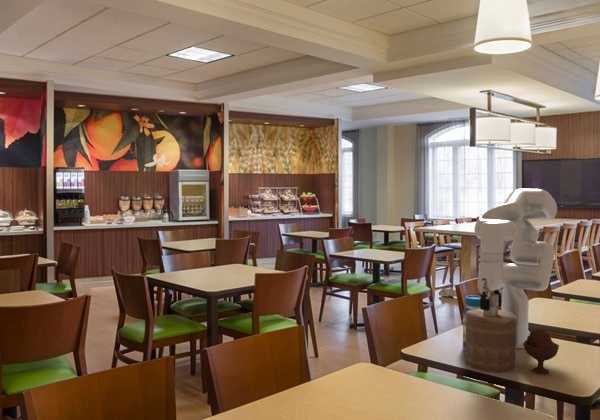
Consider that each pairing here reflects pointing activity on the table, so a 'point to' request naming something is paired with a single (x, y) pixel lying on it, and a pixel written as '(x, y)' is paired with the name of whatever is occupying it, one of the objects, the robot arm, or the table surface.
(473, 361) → the walnut cover
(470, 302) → the beverage bottle
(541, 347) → the ice cream bowl
